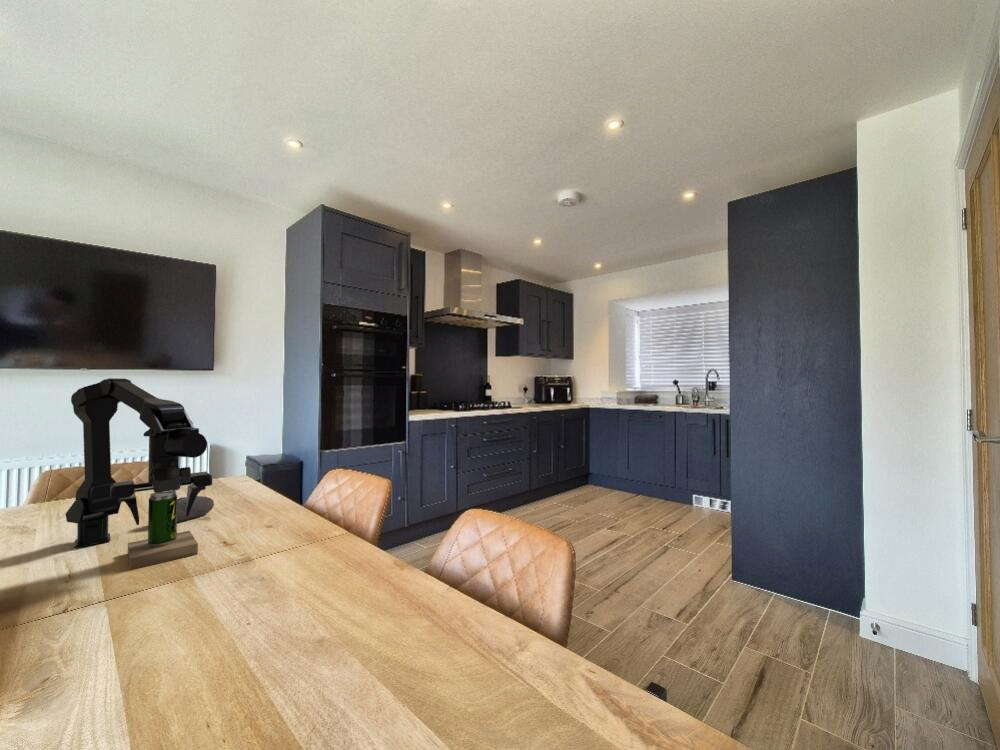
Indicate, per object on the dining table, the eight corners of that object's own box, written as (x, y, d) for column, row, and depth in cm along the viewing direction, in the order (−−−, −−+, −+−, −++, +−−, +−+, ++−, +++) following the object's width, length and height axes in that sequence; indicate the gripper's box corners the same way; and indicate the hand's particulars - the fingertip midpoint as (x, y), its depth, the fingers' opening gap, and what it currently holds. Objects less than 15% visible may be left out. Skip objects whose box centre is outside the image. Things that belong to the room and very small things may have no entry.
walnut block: (127, 553, 100) (127, 543, 100) (189, 540, 108) (189, 530, 108) (131, 569, 91) (131, 558, 91) (197, 553, 100) (197, 543, 100)
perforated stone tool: (210, 511, 133) (210, 489, 133) (217, 514, 130) (218, 492, 130) (151, 525, 120) (151, 501, 120) (158, 528, 117) (159, 504, 117)
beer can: (146, 549, 96) (147, 497, 97) (149, 542, 101) (150, 492, 101) (175, 544, 99) (176, 493, 100) (177, 537, 104) (177, 489, 104)
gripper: (112, 465, 88) (111, 539, 88) (217, 454, 101) (216, 519, 101) (110, 458, 96) (109, 526, 96) (208, 449, 109) (207, 509, 109)
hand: (163, 520), depth 100 cm, fingers open, 9 cm apart
